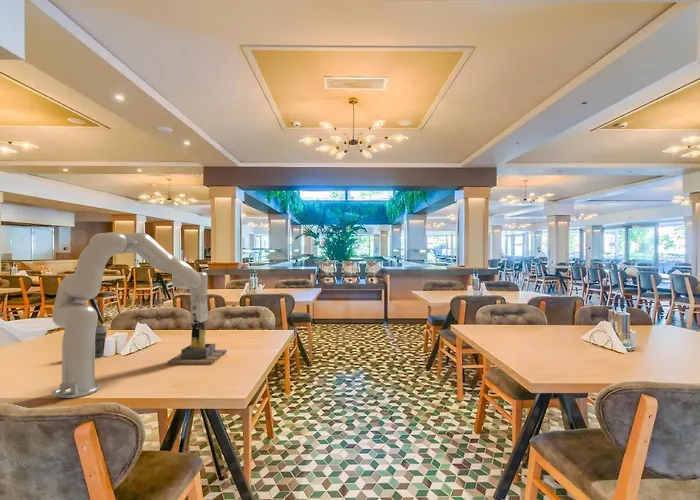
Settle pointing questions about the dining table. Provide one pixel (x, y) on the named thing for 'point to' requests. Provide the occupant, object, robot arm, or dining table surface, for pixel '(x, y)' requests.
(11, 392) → the dining table surface
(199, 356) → the condiment holder
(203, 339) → the sauce bottle
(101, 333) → the beverage cup
